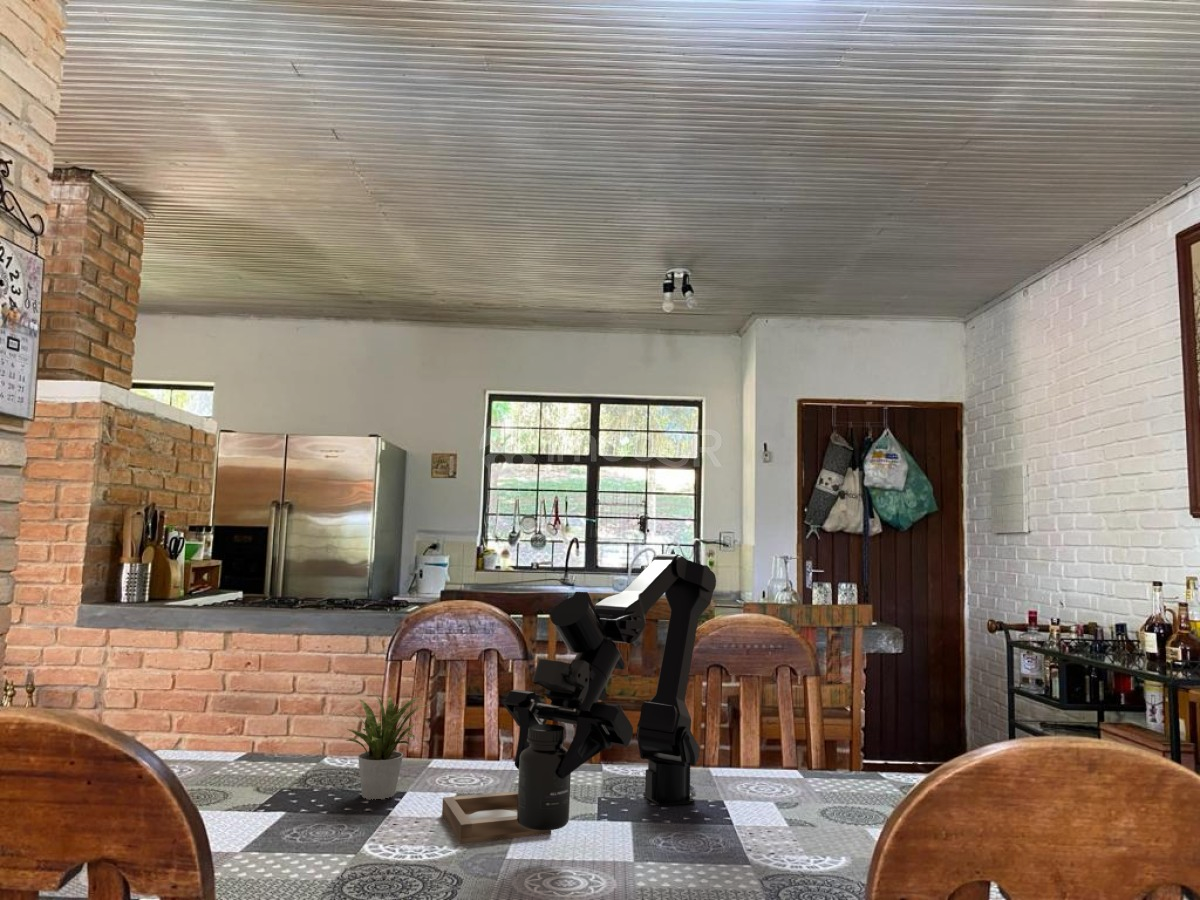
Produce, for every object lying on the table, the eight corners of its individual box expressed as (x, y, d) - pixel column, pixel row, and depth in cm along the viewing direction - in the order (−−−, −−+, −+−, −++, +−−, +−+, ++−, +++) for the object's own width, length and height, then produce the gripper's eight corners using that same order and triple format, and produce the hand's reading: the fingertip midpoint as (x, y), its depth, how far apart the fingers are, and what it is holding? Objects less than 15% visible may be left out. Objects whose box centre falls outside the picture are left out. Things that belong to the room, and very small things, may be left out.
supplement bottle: (562, 834, 99) (564, 734, 100) (509, 829, 100) (513, 731, 102) (574, 817, 106) (577, 723, 107) (525, 812, 107) (528, 720, 108)
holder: (524, 806, 125) (525, 790, 125) (551, 833, 113) (551, 815, 113) (442, 814, 120) (442, 797, 120) (460, 843, 108) (461, 824, 108)
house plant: (444, 786, 134) (449, 686, 137) (411, 811, 121) (417, 700, 123) (365, 780, 137) (372, 682, 139) (324, 803, 123) (332, 695, 126)
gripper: (513, 631, 114) (456, 723, 104) (623, 642, 104) (571, 745, 94) (545, 681, 120) (494, 773, 109) (652, 695, 109) (607, 799, 99)
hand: (538, 771), depth 103 cm, fingers closed on supplement bottle, 7 cm apart
